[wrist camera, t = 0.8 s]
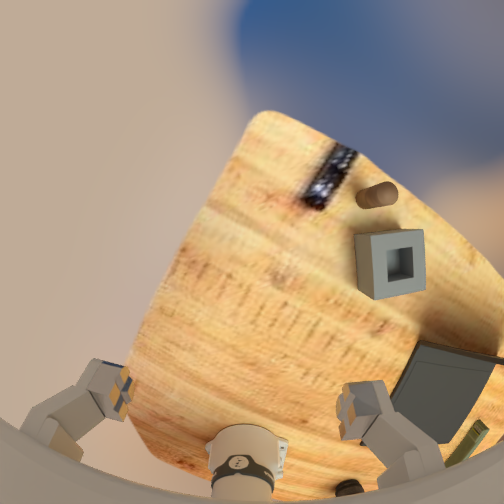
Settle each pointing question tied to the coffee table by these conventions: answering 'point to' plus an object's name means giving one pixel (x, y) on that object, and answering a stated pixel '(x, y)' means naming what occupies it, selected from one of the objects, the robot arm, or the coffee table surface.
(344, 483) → the camera lens
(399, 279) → the socket block
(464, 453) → the handheld radio
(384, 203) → the walnut peg
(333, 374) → the coffee table surface
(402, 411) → the laptop
